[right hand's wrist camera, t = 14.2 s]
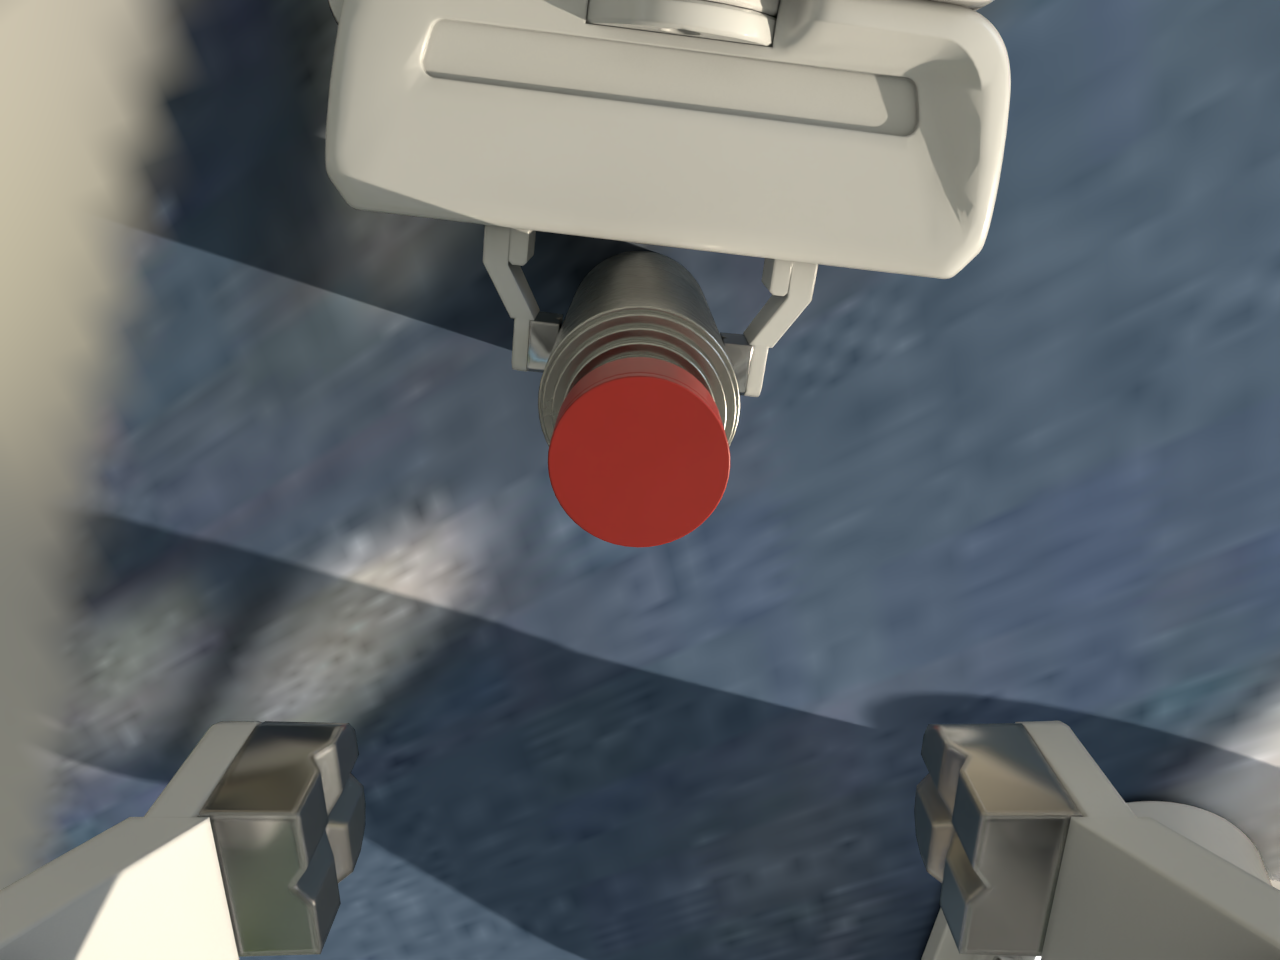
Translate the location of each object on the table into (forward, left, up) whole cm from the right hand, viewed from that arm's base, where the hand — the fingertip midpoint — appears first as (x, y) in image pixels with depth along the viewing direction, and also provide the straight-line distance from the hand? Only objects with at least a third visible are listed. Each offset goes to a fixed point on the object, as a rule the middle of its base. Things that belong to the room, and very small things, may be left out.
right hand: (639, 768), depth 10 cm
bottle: (0, 0, -27) cm, 27 cm away
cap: (0, 0, -11) cm, 11 cm away
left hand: (-1, 0, -21) cm, 21 cm away
